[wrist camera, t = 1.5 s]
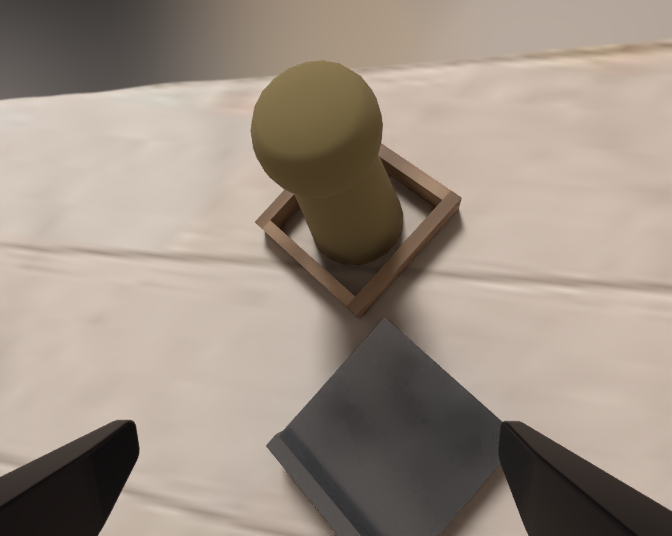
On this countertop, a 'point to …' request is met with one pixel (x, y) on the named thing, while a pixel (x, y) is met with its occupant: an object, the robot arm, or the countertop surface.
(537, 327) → the countertop surface
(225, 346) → the countertop surface
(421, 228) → the socket collar
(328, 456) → the gray hardcover book
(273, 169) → the cork
